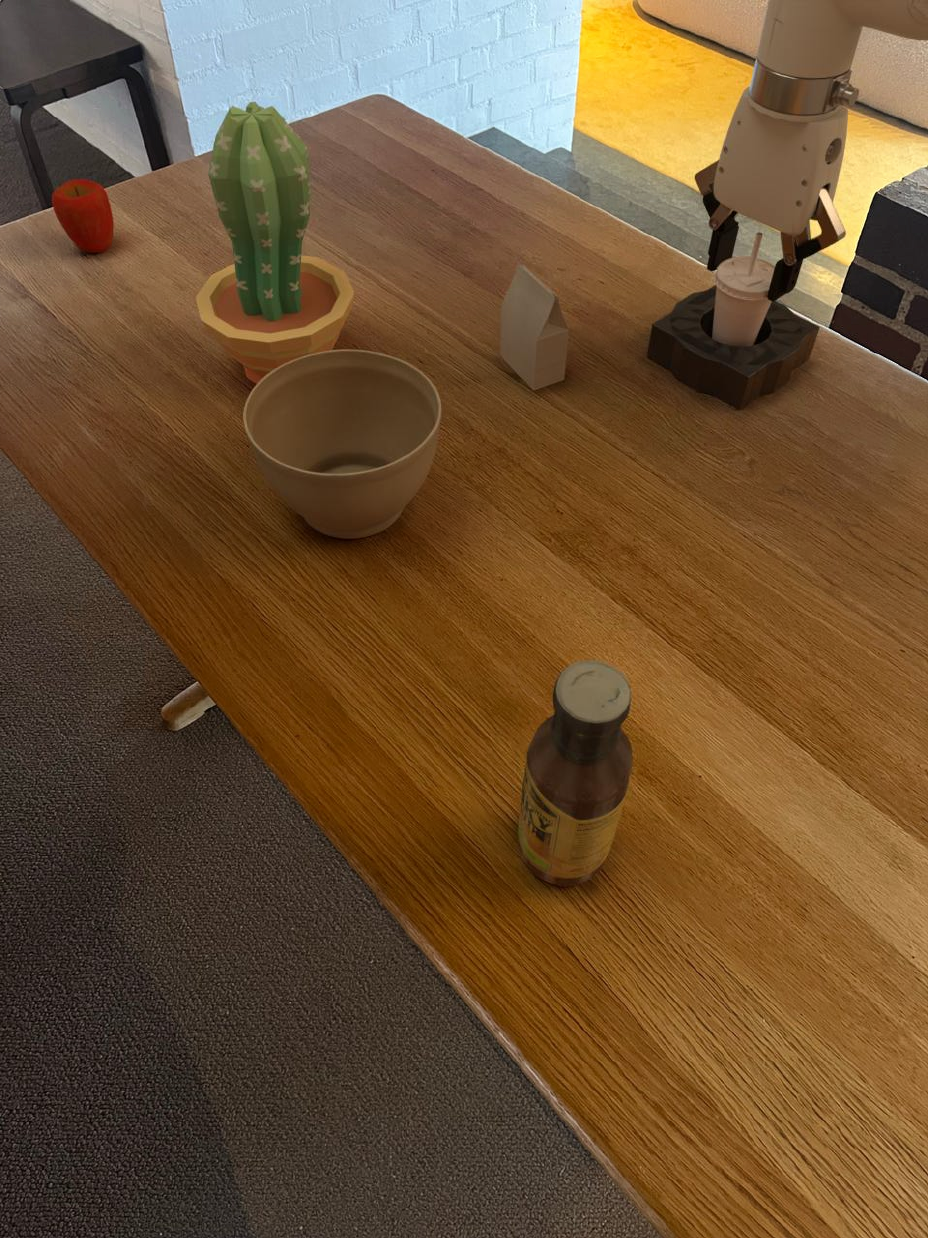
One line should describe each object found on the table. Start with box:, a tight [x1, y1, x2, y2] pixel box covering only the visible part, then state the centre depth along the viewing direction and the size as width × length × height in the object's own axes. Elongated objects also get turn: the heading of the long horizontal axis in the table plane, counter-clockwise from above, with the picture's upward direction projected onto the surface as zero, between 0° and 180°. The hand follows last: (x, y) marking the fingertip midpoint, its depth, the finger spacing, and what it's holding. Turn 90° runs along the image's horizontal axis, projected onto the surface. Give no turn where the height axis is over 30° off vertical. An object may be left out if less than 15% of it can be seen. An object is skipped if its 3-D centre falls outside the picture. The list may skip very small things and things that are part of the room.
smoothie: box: [712, 231, 776, 346], centre depth 94 cm, size 6×6×14 cm
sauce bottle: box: [517, 659, 634, 888], centre depth 58 cm, size 6×6×20 cm
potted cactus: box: [195, 101, 355, 385], centre depth 90 cm, size 15×15×25 cm
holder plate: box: [646, 284, 821, 411], centre depth 99 cm, size 13×13×4 cm
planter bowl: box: [242, 348, 443, 540], centre depth 82 cm, size 16×16×11 cm
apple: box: [51, 178, 115, 254], centre depth 111 cm, size 6×6×8 cm
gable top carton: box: [499, 263, 570, 392], centre depth 95 cm, size 4×7×10 cm, turn 29°
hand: (748, 278), depth 93 cm, fingers closed on smoothie, 6 cm apart
